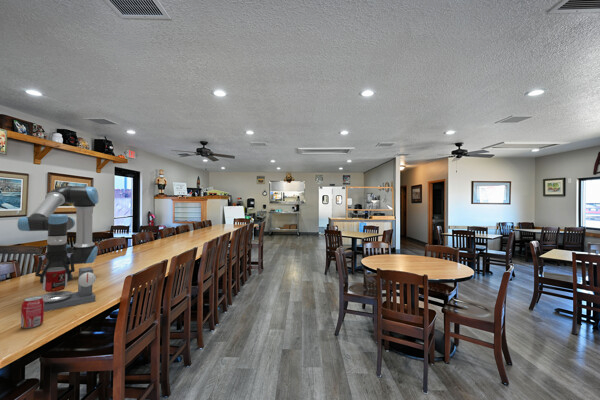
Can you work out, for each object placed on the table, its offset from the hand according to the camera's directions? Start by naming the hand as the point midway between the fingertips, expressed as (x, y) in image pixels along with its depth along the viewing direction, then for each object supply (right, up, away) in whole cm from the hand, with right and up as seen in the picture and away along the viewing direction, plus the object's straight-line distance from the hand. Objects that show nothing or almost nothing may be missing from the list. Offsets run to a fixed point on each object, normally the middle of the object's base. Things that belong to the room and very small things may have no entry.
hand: (55, 287), depth 138 cm
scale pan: (0, -6, 0) cm, 6 cm away
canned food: (0, -1, 0) cm, 1 cm away
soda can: (+11, -10, -22) cm, 26 cm away
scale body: (+2, -9, +3) cm, 10 cm away
